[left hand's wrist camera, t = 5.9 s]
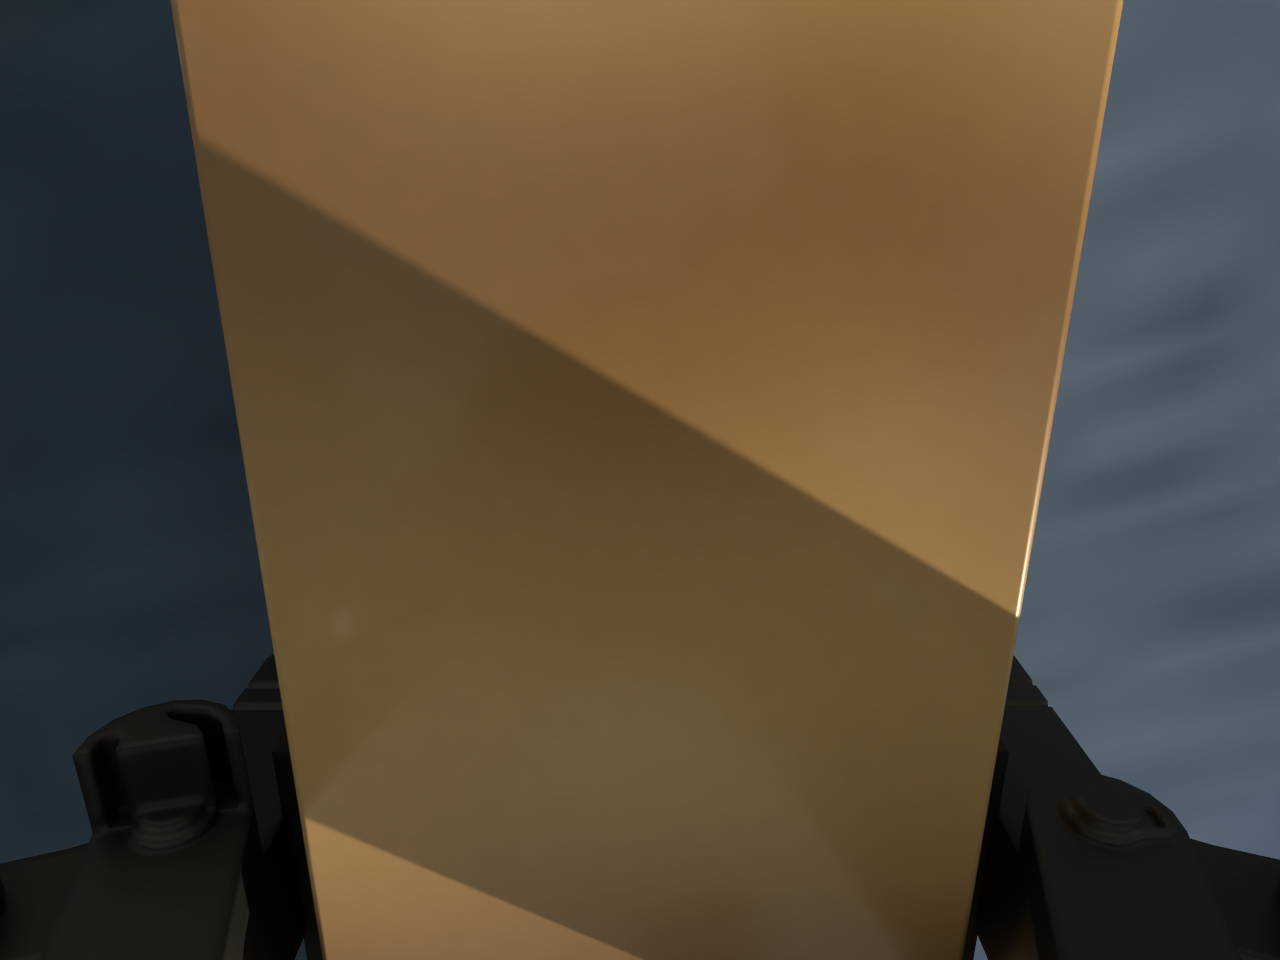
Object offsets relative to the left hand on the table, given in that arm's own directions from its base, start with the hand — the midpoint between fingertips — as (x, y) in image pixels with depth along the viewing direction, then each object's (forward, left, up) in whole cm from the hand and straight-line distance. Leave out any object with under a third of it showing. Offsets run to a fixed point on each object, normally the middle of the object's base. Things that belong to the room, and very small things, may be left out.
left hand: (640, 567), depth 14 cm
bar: (+7, +22, -1) cm, 24 cm away
